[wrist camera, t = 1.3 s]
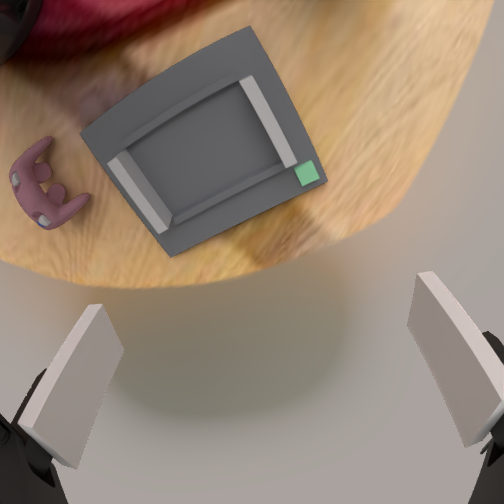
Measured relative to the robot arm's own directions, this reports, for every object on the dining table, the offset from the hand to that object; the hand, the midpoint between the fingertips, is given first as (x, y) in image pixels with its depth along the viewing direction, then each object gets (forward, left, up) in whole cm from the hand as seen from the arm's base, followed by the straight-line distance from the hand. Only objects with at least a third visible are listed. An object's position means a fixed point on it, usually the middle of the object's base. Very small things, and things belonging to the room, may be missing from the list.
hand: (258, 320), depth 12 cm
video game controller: (-9, -20, -23) cm, 32 cm away
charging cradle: (-3, -3, -23) cm, 23 cm away
